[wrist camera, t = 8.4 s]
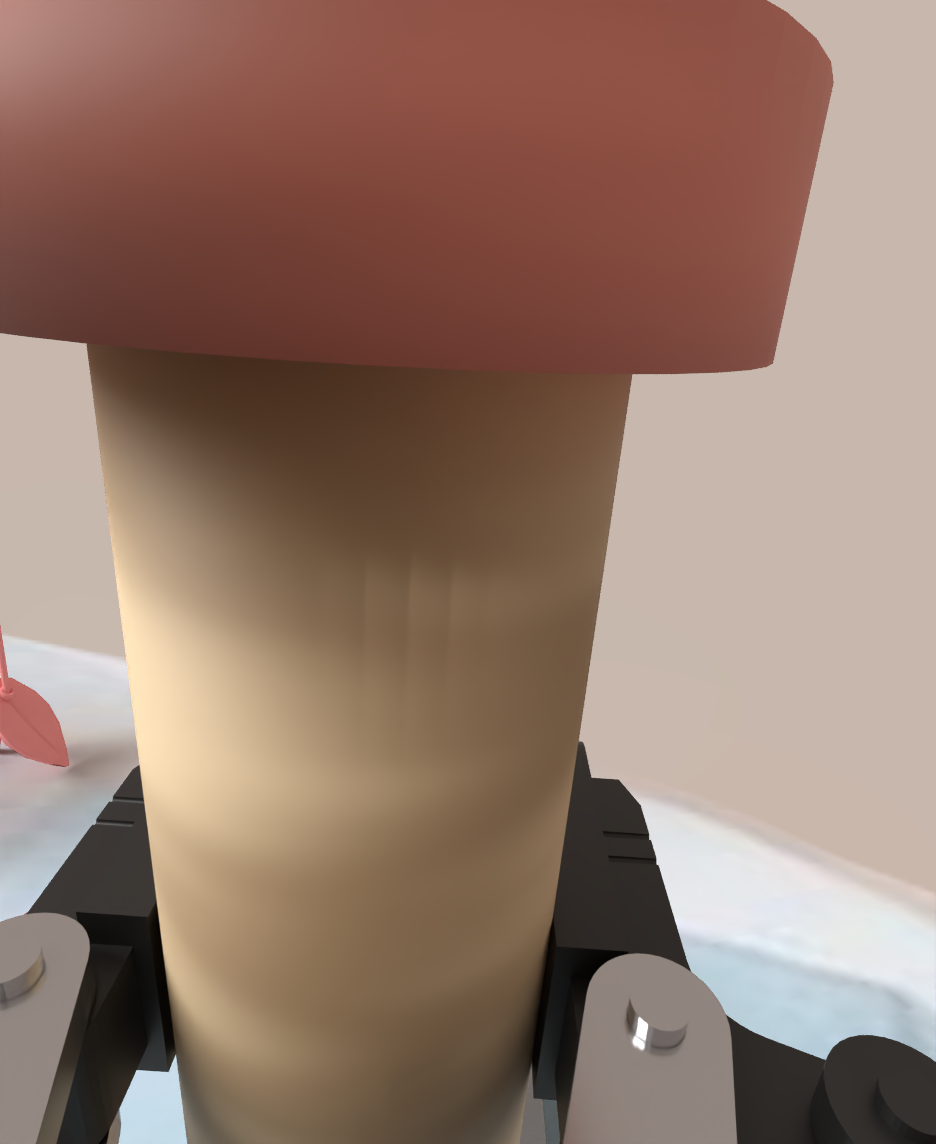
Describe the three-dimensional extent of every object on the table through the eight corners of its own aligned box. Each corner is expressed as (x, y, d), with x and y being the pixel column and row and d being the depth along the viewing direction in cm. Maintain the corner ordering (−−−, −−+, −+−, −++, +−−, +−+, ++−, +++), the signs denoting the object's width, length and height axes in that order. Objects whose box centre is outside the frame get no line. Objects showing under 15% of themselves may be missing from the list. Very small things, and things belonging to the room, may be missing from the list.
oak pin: (86, 1711, 9) (-668, -197, 2) (236, 1175, 14) (147, 147, 8) (548, 1744, 9) (1157, -65, 2) (525, 1196, 14) (685, 185, 8)
